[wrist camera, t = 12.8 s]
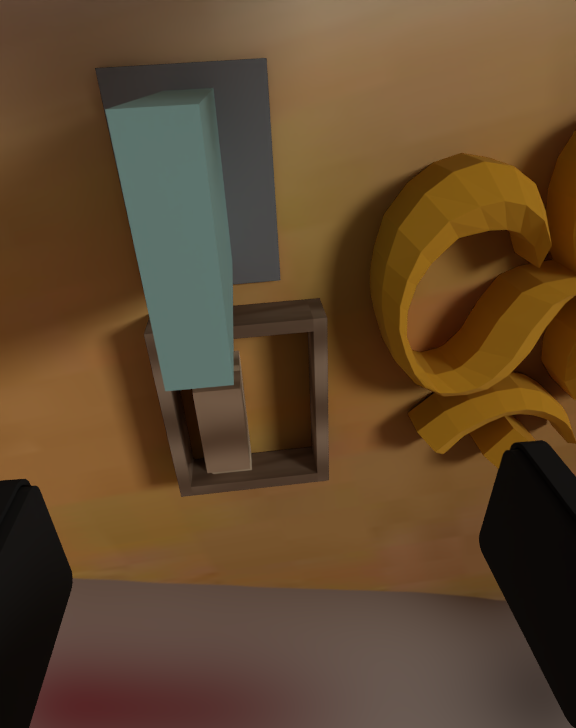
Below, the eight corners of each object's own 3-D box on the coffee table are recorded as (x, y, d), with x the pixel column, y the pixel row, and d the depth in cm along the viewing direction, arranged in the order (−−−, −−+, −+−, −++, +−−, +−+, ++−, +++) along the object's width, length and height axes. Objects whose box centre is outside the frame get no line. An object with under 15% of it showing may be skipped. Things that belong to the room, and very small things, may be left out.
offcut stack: (196, 353, 40) (191, 387, 35) (239, 349, 40) (239, 382, 36) (213, 455, 45) (211, 495, 41) (251, 451, 46) (252, 490, 41)
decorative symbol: (877, 60, 29) (714, 445, 44) (792, 61, 33) (671, 412, 49) (380, 143, 28) (393, 502, 44) (360, 134, 33) (378, 463, 48)
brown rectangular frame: (150, 313, 37) (143, 334, 34) (319, 298, 38) (327, 317, 35) (184, 468, 46) (181, 496, 43) (322, 453, 46) (328, 480, 43)
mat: (97, 68, 29) (95, 68, 28) (265, 58, 30) (266, 58, 29) (145, 288, 36) (144, 291, 36) (279, 277, 37) (280, 280, 36)
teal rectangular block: (163, 90, 29) (105, 109, 16) (213, 87, 30) (198, 104, 16) (190, 266, 35) (165, 391, 21) (232, 262, 35) (233, 385, 22)
